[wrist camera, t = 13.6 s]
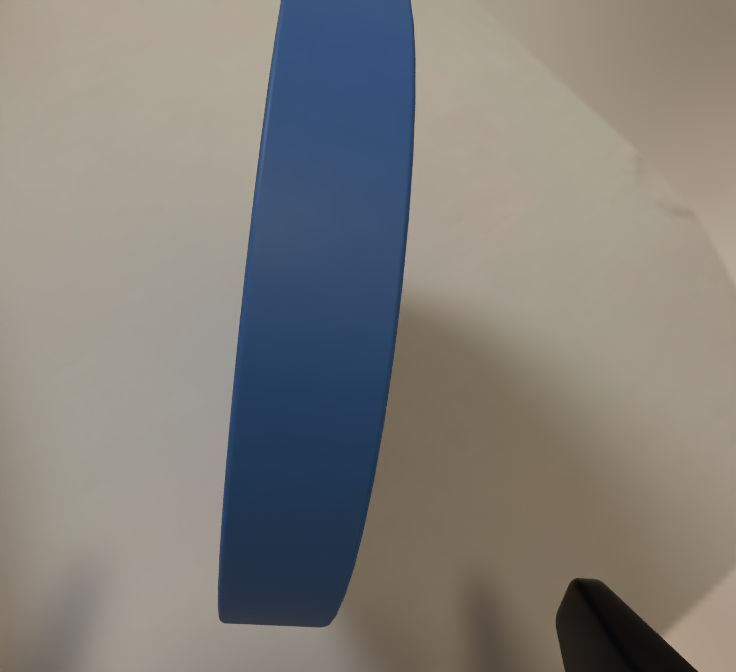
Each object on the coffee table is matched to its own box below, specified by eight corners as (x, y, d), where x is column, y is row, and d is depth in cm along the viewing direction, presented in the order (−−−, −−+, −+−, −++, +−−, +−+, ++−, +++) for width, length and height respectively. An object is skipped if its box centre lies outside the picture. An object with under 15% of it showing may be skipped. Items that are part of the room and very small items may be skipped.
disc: (299, 615, 15) (405, 663, 5) (230, 612, 15) (186, 656, 5) (331, 218, 19) (423, -201, 9) (278, 211, 19) (311, -227, 9)
